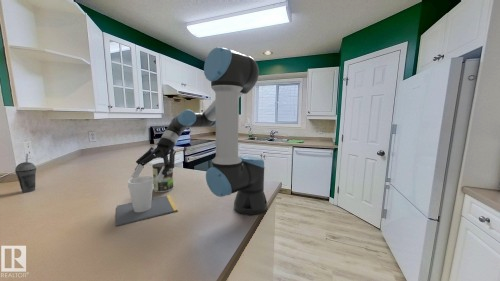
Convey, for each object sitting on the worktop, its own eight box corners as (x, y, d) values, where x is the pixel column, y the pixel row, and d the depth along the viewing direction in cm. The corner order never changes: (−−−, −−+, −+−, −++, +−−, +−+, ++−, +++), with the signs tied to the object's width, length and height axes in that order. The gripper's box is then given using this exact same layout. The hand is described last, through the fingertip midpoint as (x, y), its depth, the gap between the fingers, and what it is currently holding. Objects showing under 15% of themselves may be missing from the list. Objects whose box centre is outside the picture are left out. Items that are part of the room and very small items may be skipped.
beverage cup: (16, 192, 99) (10, 154, 96) (36, 187, 105) (31, 152, 103) (20, 194, 96) (14, 156, 93) (41, 190, 102) (36, 153, 100)
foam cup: (159, 204, 86) (157, 176, 85) (146, 214, 77) (144, 184, 76) (139, 203, 87) (137, 175, 86) (124, 213, 78) (122, 183, 76)
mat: (177, 211, 82) (177, 209, 82) (115, 226, 70) (115, 224, 70) (169, 196, 97) (169, 194, 97) (117, 206, 85) (117, 205, 85)
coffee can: (177, 186, 110) (176, 162, 108) (166, 193, 100) (165, 167, 98) (161, 184, 112) (160, 161, 110) (149, 191, 102) (147, 166, 100)
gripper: (192, 147, 95) (173, 186, 83) (152, 144, 103) (129, 180, 90) (185, 137, 89) (164, 178, 77) (143, 136, 97) (118, 172, 85)
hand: (145, 179), depth 84 cm, fingers open, 13 cm apart
